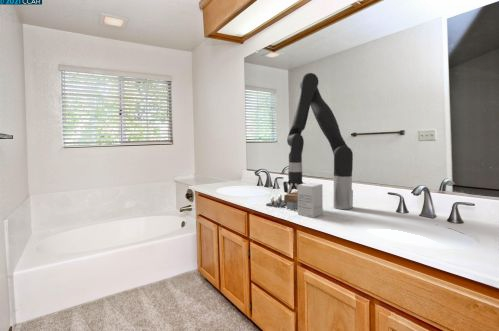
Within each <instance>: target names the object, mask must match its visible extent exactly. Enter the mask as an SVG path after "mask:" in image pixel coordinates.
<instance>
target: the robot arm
mask: <svg viewBox="0 0 499 331" xmlns="http://www.w3.org/2000/svg"><path fill="white" fill-rule="evenodd" d="M299 83H300V84H299V86H300V90H301V91H300V96H299V101H298V104H297V107H296V110H295V112H294V117H293V121H292V125H291V127H290V130H289V132H288V135H287V138H286V142H287V143H286V144H287V145H288V146H290V151H289V153H288V167H287V171H288V174H287V176H288V177H287V178H288V181H283V184H282V185H283V192H284V193H286V194H289V193H292V192H293V190H296V191H298V185H300V184H305V183H306V182H303V157H302V156H303V155H302V154H303V149H304V145H305V144H304V143H305V142H304V137H303V135H302V132H303V131H304V130H305V129H306V126H307V121H308V117H309V112H310V108H311V111H312V113H313V115H314V117H315V120H316V123H317V124H318V127H319V129H320V131H322V133H323V135H324V137H325V138H326V140H327V141H328V143H329V146H330V148H331V151H332V154H333V208H334V209H338V210H351V209H352V208H353V207H354V189H352V188H353V184H352V183H353V169H354V168H353V166H354V165H353V164H354V163H353V158H354V156H353V155H354V154H353V150H352V149H351V148H350V147H349V146H348V145H347V143H346V142H345V140H344V138H343V135H342V133H341V130H340V127H339V123H338V120H337V119H336V117H335V115H334V112H333V110H332V109H331V107H330V106H329V105H328V104H327V103H326V101H325V100H324V98H323V97H322V94H321V93H320V89H319V78H318V76H317V75H316V74H315V73H313V72H309V73H306V74H304V75H303V76H302V78H301V81H300V82H299Z"/></svg>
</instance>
